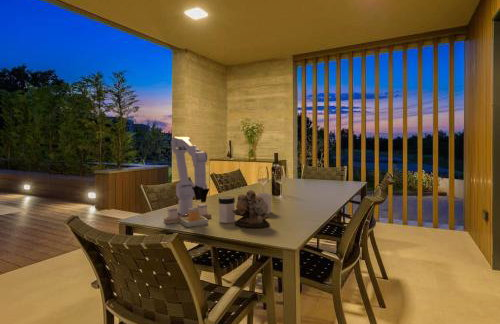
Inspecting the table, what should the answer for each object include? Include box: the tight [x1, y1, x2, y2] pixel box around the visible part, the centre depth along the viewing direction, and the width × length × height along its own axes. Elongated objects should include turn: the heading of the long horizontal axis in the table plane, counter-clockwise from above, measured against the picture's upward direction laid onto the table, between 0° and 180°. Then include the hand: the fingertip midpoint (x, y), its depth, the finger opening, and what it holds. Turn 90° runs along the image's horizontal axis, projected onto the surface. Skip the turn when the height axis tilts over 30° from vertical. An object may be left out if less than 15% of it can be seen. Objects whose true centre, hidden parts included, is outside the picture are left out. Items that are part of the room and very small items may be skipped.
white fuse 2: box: [196, 203, 208, 215], centre depth 165 cm, size 4×4×7 cm
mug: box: [256, 192, 272, 215], centre depth 174 cm, size 12×8×10 cm, turn 78°
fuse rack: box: [163, 212, 212, 225], centre depth 161 cm, size 7×23×2 cm, turn 120°
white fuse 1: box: [167, 206, 179, 220], centre depth 157 cm, size 4×4×7 cm
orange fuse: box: [188, 207, 199, 222], centre depth 153 cm, size 4×4×7 cm
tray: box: [180, 215, 209, 228], centre depth 153 cm, size 11×11×2 cm
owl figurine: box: [233, 189, 271, 230], centre depth 147 cm, size 18×12×17 cm, turn 77°
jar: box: [218, 195, 236, 224], centre depth 156 cm, size 9×8×12 cm
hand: (200, 201), depth 160 cm, fingers open, 7 cm apart
